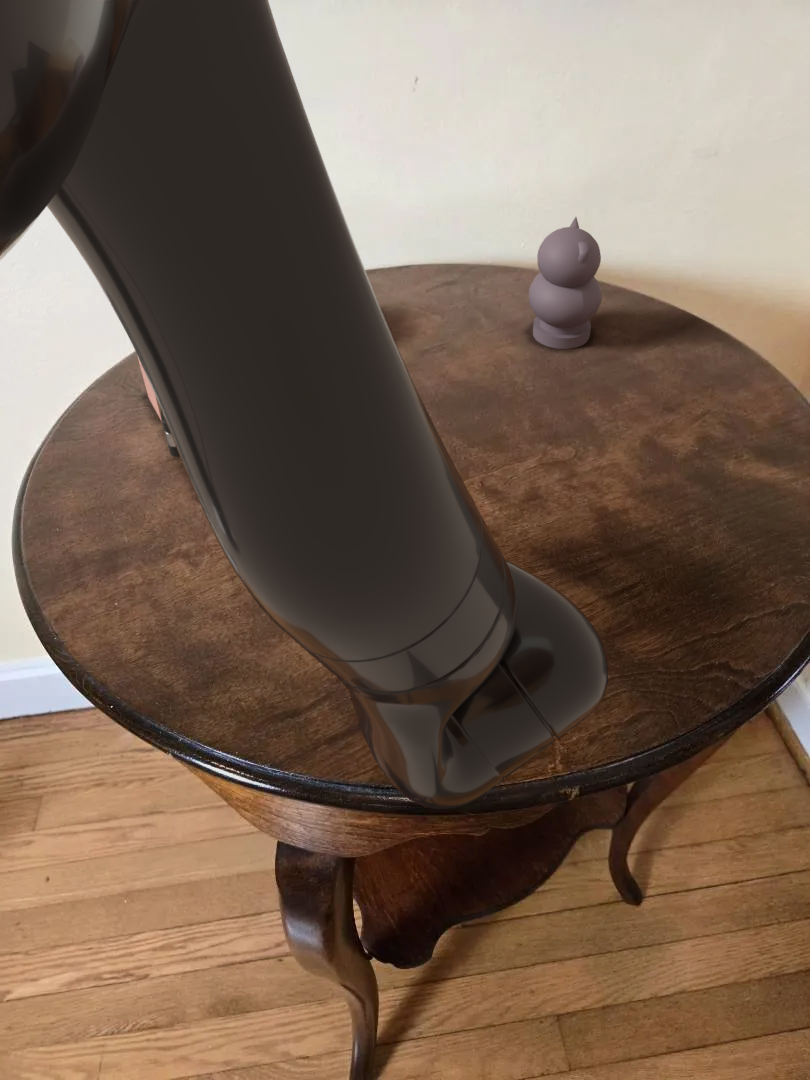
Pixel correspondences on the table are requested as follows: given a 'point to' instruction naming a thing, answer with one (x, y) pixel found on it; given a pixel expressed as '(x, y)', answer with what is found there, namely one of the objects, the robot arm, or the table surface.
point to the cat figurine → (565, 288)
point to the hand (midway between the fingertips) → (224, 334)
